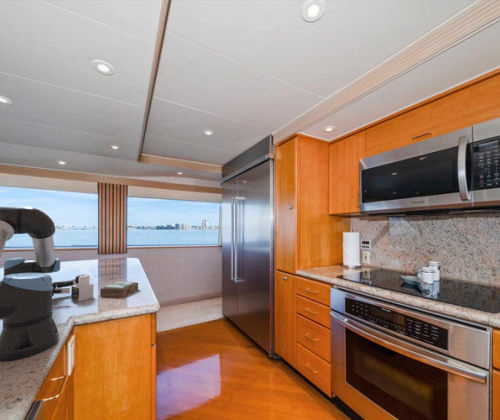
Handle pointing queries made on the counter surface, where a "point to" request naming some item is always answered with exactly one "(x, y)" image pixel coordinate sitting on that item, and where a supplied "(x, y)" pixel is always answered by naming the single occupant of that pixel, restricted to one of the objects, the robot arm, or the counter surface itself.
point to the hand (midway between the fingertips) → (78, 286)
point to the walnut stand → (119, 289)
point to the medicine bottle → (82, 288)
